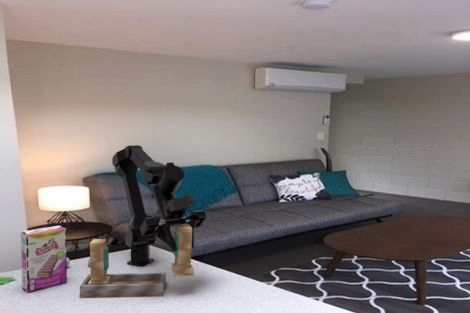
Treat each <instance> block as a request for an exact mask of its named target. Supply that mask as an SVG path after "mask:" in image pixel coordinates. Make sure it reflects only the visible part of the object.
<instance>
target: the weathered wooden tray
mask: <svg viewBox="0 0 470 313" xmlns="http://www.w3.org/2000/svg"><path fill="white" fill-rule="evenodd" d="M91 241H92V242H91ZM91 241H90V242H91V243H89V244H90V245H89V258H90V267H89V268H90V273H88V275H87V276H86V277H85V279H84V280H83V282H82V283H81V284H80V285H79V299H91V298H93V299H96V298H100V299H101V298H134V297H135V298H140V297H141V298H144V297H145V298H146V297H148V298H149V297H163V296H164V292H165V288H166V283H167V278H166V277H167V273H166V272H144V273H143V272H141V273H140V272H139V273H137V272H136V273H131V272H130V273H108V269H109V267H110V264H109V262H110V261H109V260H110V258H109V256H110V255H109V254H110V253H109V246H107V238H94V239H92V240H91Z"/></svg>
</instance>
